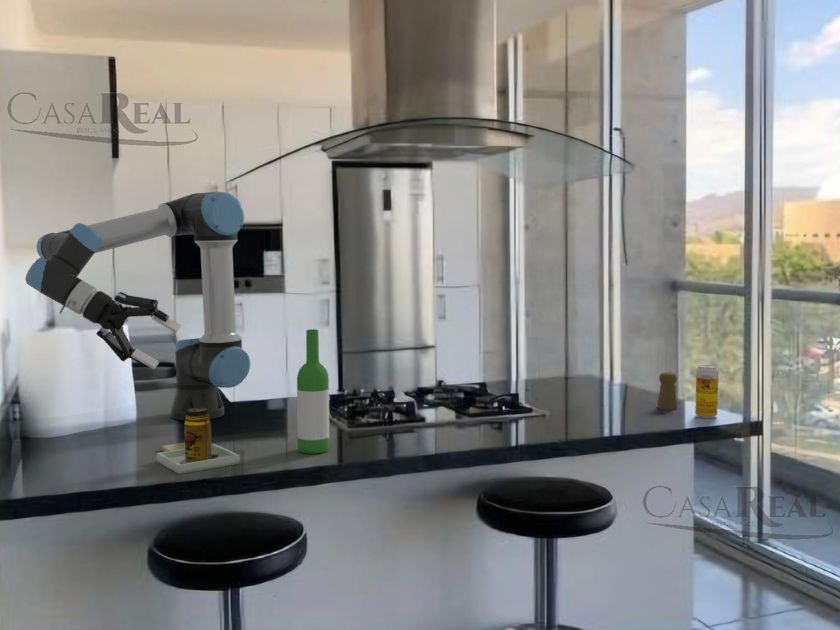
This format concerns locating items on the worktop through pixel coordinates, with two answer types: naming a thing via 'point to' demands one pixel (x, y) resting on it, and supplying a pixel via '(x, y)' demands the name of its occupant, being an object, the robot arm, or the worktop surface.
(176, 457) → the tray
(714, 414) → the beer can
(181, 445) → the bench board
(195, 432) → the condiment
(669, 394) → the cork
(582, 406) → the worktop surface
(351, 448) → the worktop surface
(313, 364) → the wine bottle
